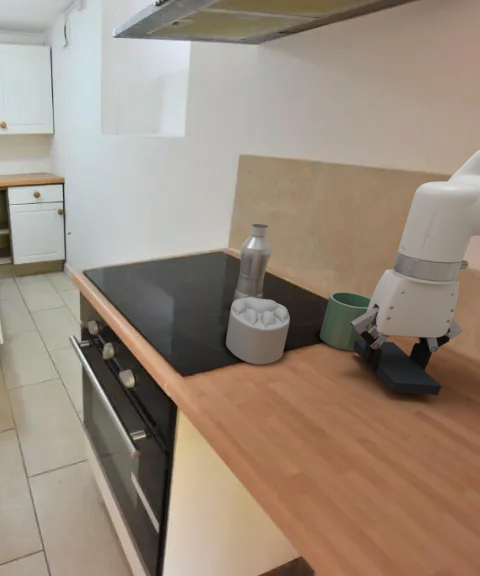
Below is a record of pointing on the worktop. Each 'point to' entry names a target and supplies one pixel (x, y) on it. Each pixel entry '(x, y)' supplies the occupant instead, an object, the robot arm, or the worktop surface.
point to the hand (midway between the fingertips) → (392, 366)
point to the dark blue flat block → (401, 371)
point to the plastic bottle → (253, 263)
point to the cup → (343, 319)
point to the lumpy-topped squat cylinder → (257, 330)
